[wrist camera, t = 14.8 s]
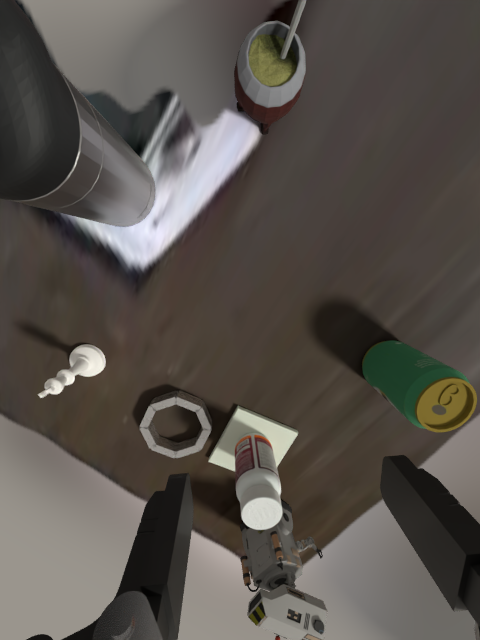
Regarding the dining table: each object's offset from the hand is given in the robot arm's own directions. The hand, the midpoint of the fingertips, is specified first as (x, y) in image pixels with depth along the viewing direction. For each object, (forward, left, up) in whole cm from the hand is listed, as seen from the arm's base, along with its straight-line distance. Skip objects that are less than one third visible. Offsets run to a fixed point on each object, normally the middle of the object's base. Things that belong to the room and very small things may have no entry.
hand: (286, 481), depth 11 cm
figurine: (+22, -32, -28) cm, 48 cm away
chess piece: (-18, -16, -28) cm, 37 cm away
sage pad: (+11, -19, -28) cm, 36 cm away
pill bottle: (+11, -19, -27) cm, 35 cm away
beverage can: (+23, +3, -28) cm, 37 cm away
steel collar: (-2, -20, -28) cm, 34 cm away
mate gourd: (-10, +25, -28) cm, 39 cm away
